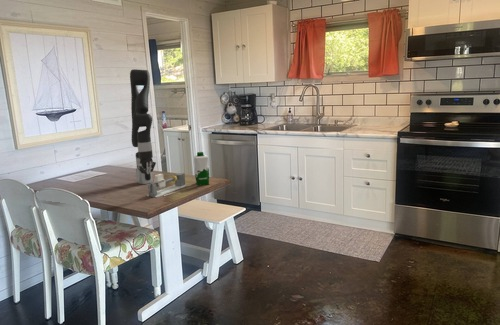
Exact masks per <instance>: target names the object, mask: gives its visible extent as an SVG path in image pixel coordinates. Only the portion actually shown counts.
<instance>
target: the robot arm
mask: <svg viewBox="0 0 500 325" xmlns="http://www.w3.org/2000/svg"><path fill="white" fill-rule="evenodd" d="M150 79H151V78H150V72H149V70H147V69H138V68H137V69H135V68H133V69H131V70H130V73H129V80H130V83H129V84H130V91H131V92H130V95H131V97H130V98H131V104H130V105H131V107H130V109H131V144H132V146H133V147H134V148H137V152H136V153H135V161H136V163H135V164H136V169H135V174H136V182H137V184H139V185H146V184H147V185H149V184H152V183H153V172H154V169H155V166H156V164H157V162H155V161H154V160H153V158H154V157H153V156H154V155H153V154H154V153H153V145H152V140H151V128H152V125H153V117H152V115H151V114H150V113H148V112H149V95H150V94H149V93H150V82H151V80H150ZM137 86H139V87H141V86H142V89H141V91H140V92H139V91H138V89H137ZM144 127H146V128H145V129H144V130H140V128H144ZM139 130H140V131H139Z"/></svg>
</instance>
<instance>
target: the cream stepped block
mask: <svg viewBox="0 0 500 325" xmlns="http://www.w3.org/2000/svg"><path fill="white" fill-rule="evenodd" d="M153 178H154V180H153V179H152V180H153V182H152V183H153V184H156V183H158V186H156V188H157V190H162V189H165V188H167V185H166V184H167V183H165V180H166V179H165V178H164V173H158V174H155V175H154V176H153ZM153 184H152V185H153Z"/></svg>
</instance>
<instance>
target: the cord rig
mask: <svg viewBox="0 0 500 325" xmlns="http://www.w3.org/2000/svg"><path fill="white" fill-rule="evenodd" d="M170 182H174V184H173V185H170V186H168V187H167V186H166V187H165V188H162V189H157V188H156V186H158V183H156V184H152V183H148V184H147V188H148V189H147V190H148V194H146V197H151V198H160V197H162V196H165V195H168V194H171V193H172V192H173V193H174V192H176V191H178V190H180V189H183V188H185V187H187V184H186V176H185V173H182V172H176V173H174V174H173V175H172V176H171V178H167V179H165V183H166V184H167V183H170Z"/></svg>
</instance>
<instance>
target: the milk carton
mask: <svg viewBox="0 0 500 325" xmlns="http://www.w3.org/2000/svg"><path fill="white" fill-rule="evenodd" d="M193 162H194V163H193V164H194V176H195V182H196V185H197V186H209V185H210V169H209V168H210V166H209V156H208V154H205V153H204V152H203V151H199V152H197V153H196V155H194V156H193Z"/></svg>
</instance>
